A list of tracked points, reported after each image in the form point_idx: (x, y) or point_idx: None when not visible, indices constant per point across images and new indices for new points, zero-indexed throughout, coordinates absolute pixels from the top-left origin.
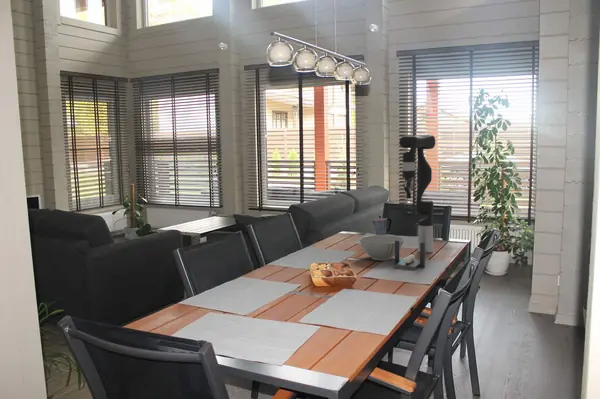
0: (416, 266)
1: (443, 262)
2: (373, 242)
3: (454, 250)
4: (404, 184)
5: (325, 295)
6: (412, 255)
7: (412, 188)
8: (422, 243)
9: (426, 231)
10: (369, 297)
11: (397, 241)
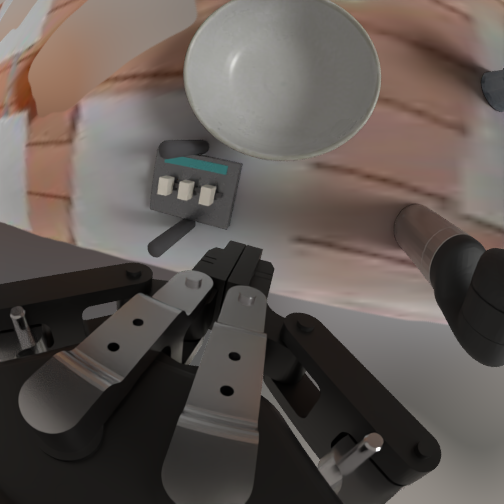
0: (160, 211)
1: None
2: (346, 37)
3: (423, 308)
4: None
5: (8, 105)
6: (201, 198)
7: (289, 402)
8: (148, 249)
9: (420, 260)
10: (11, 165)
11: (159, 153)
